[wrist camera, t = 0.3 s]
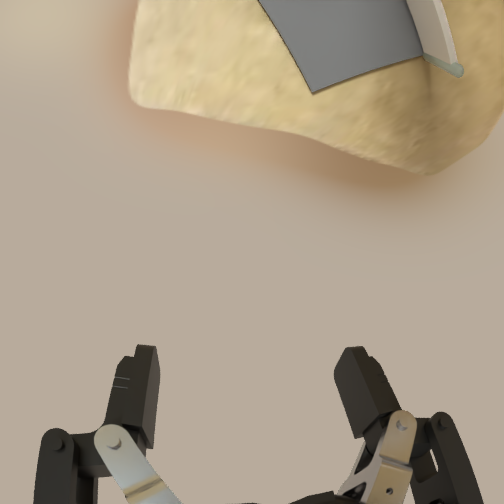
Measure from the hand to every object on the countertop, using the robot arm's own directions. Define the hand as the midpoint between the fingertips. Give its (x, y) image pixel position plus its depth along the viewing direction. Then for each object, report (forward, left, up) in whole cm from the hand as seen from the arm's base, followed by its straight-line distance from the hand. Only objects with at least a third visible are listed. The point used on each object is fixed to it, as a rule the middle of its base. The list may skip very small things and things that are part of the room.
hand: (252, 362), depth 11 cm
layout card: (-8, +19, -31) cm, 37 cm away
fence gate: (-2, +26, -30) cm, 39 cm away
